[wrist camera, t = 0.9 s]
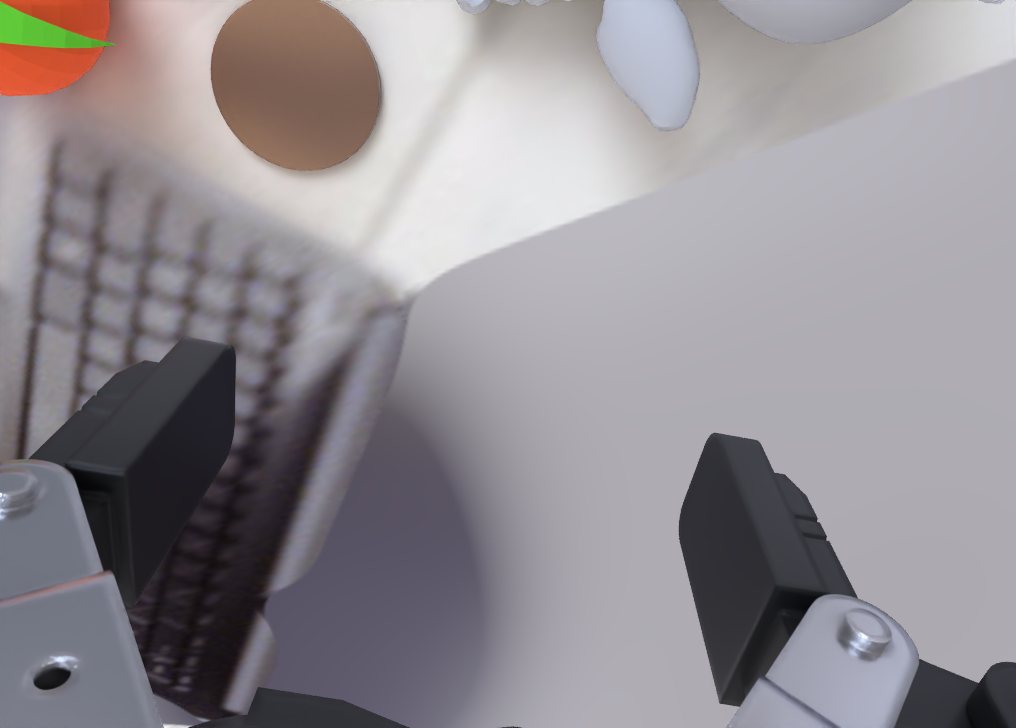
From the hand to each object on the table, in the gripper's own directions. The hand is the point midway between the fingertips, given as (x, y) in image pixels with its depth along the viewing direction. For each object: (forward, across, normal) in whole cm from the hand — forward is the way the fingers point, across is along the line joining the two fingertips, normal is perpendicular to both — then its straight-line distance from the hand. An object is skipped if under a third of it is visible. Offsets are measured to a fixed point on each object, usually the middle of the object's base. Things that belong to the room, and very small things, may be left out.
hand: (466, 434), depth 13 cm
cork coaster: (+22, +9, -1) cm, 24 cm away
